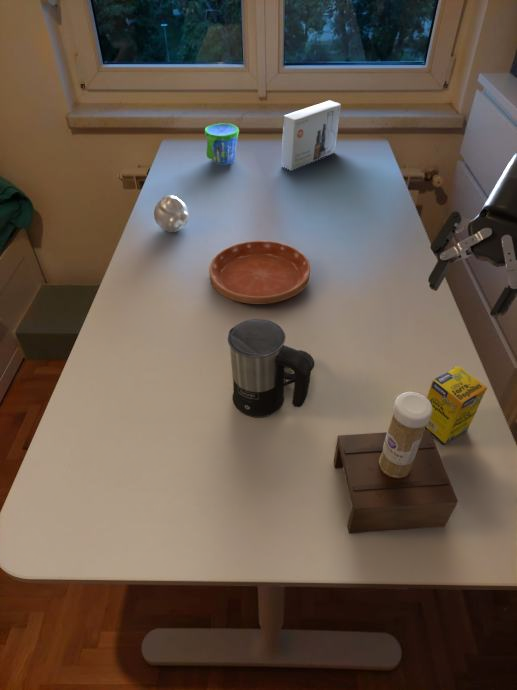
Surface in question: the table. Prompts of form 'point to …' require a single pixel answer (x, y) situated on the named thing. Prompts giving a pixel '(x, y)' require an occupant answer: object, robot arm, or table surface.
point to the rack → (394, 486)
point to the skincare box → (309, 134)
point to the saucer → (259, 272)
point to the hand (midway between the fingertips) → (462, 302)
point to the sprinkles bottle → (404, 433)
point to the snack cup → (222, 142)
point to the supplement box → (453, 404)
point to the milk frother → (265, 368)
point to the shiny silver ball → (171, 214)
